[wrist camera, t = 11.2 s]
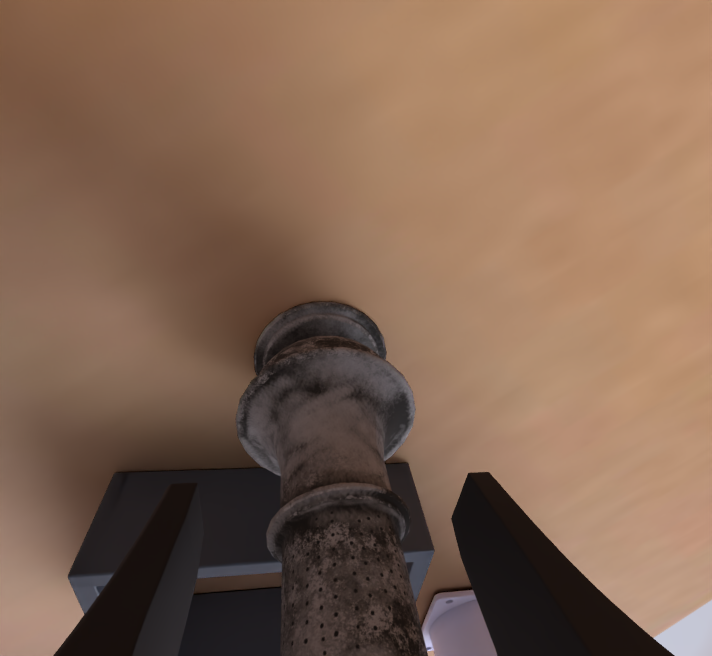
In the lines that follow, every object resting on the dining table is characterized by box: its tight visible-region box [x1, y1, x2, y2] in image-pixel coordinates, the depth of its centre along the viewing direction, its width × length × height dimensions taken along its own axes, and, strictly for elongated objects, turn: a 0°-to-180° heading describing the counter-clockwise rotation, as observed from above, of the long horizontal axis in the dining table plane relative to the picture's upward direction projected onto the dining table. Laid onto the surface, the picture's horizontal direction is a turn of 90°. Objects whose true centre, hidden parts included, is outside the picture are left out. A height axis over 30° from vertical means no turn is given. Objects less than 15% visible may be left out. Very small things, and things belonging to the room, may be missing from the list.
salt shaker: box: [236, 302, 428, 656], centre depth 11 cm, size 6×6×12 cm
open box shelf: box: [68, 463, 435, 656], centre depth 20 cm, size 14×12×4 cm
